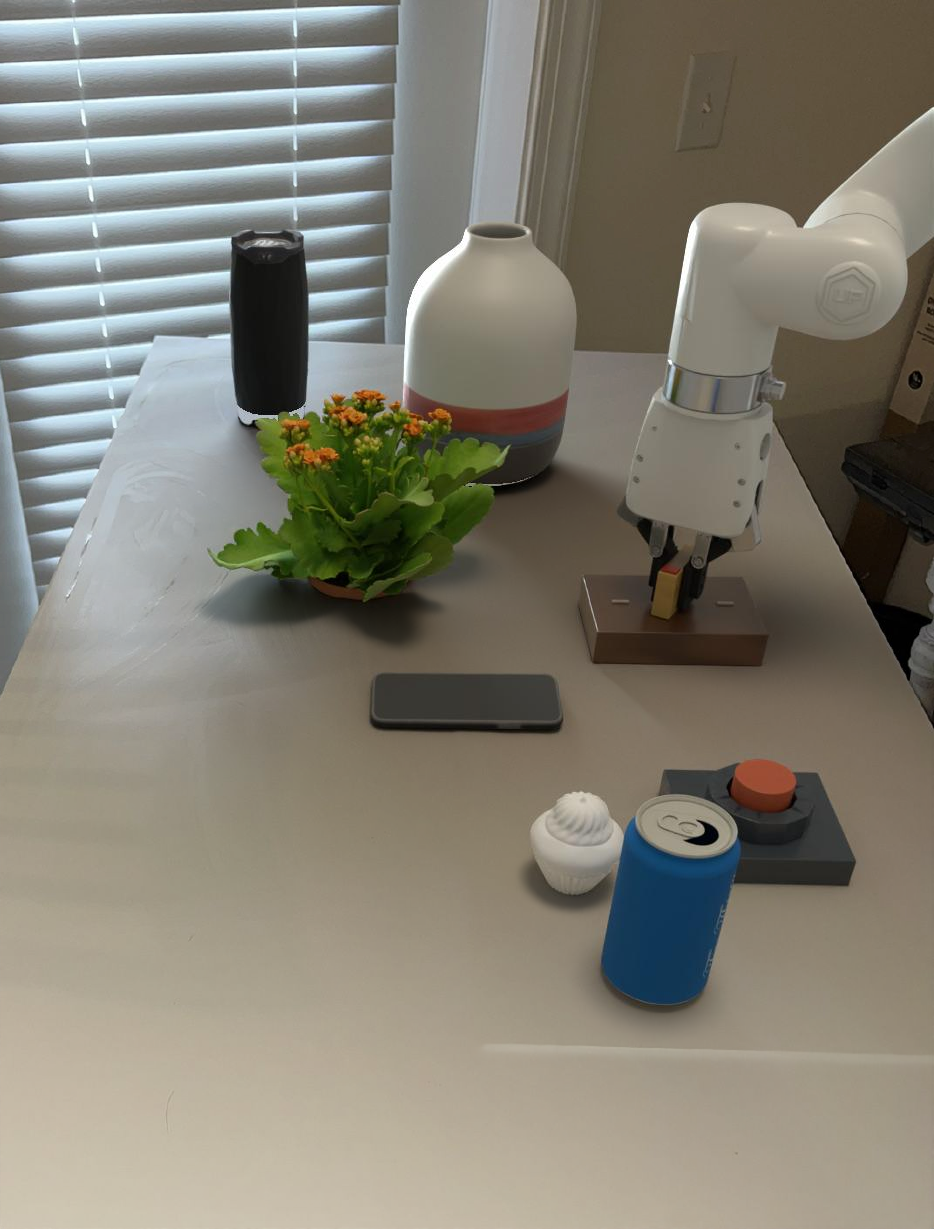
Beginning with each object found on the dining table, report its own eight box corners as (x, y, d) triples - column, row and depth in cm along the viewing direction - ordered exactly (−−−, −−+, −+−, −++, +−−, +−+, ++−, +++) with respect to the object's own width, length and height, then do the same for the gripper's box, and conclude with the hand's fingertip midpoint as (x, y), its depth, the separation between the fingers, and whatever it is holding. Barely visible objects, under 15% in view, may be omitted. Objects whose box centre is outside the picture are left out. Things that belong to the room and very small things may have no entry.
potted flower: (281, 503, 136) (279, 327, 125) (513, 531, 131) (532, 351, 120) (200, 622, 117) (188, 428, 106) (467, 660, 112) (484, 461, 101)
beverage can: (684, 1029, 79) (723, 875, 72) (583, 987, 82) (610, 835, 75) (720, 964, 84) (760, 812, 76) (622, 927, 86) (652, 777, 79)
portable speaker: (309, 402, 157) (309, 224, 145) (306, 433, 150) (306, 249, 138) (236, 401, 158) (230, 223, 145) (230, 432, 150) (223, 248, 138)
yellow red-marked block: (676, 585, 116) (685, 540, 113) (694, 590, 115) (703, 545, 112) (650, 614, 112) (658, 568, 109) (668, 620, 111) (677, 574, 109)
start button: (782, 779, 93) (788, 759, 92) (797, 815, 90) (803, 794, 89) (724, 778, 93) (729, 758, 92) (736, 814, 90) (742, 793, 89)
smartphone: (371, 670, 109) (556, 672, 108) (371, 680, 110) (555, 681, 109) (370, 720, 104) (565, 723, 103) (370, 730, 104) (564, 733, 103)
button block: (810, 796, 97) (823, 751, 95) (848, 886, 89) (864, 840, 87) (658, 793, 98) (667, 748, 95) (682, 882, 90) (693, 836, 87)
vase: (377, 483, 140) (385, 243, 125) (429, 425, 152) (442, 200, 137) (535, 510, 134) (563, 263, 120) (575, 448, 147) (605, 217, 132)
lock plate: (736, 606, 119) (743, 574, 117) (761, 666, 111) (769, 632, 109) (578, 604, 120) (582, 572, 118) (592, 663, 112) (597, 629, 110)
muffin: (515, 897, 89) (525, 814, 84) (535, 843, 93) (546, 761, 89) (608, 919, 87) (624, 835, 83) (624, 862, 91) (640, 780, 87)
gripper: (832, 389, 101) (778, 606, 112) (636, 350, 108) (604, 558, 119) (801, 421, 96) (748, 644, 108) (598, 378, 103) (569, 593, 114)
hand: (673, 598), depth 113 cm, fingers closed, pressing on yellow red-marked block
